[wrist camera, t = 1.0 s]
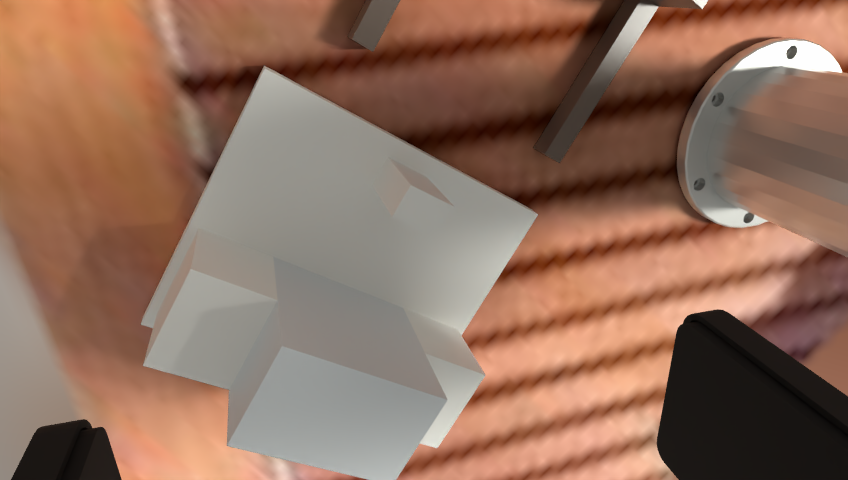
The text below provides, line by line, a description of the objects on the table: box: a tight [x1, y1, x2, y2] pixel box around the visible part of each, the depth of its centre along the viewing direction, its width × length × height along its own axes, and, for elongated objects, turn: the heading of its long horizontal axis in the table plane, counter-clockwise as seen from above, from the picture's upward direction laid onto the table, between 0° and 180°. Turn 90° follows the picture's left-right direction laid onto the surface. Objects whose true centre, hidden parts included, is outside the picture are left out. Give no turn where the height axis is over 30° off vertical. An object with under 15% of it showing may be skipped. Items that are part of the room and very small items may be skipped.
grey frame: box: [347, 0, 708, 163], centre depth 29 cm, size 12×14×5 cm
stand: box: [141, 66, 538, 480], centre depth 30 cm, size 16×18×10 cm
